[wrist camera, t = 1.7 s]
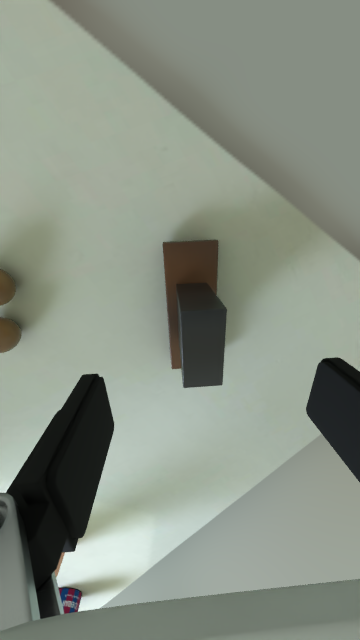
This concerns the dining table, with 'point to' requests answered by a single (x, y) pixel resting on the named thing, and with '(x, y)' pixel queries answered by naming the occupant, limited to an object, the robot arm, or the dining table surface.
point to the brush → (195, 311)
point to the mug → (70, 599)
